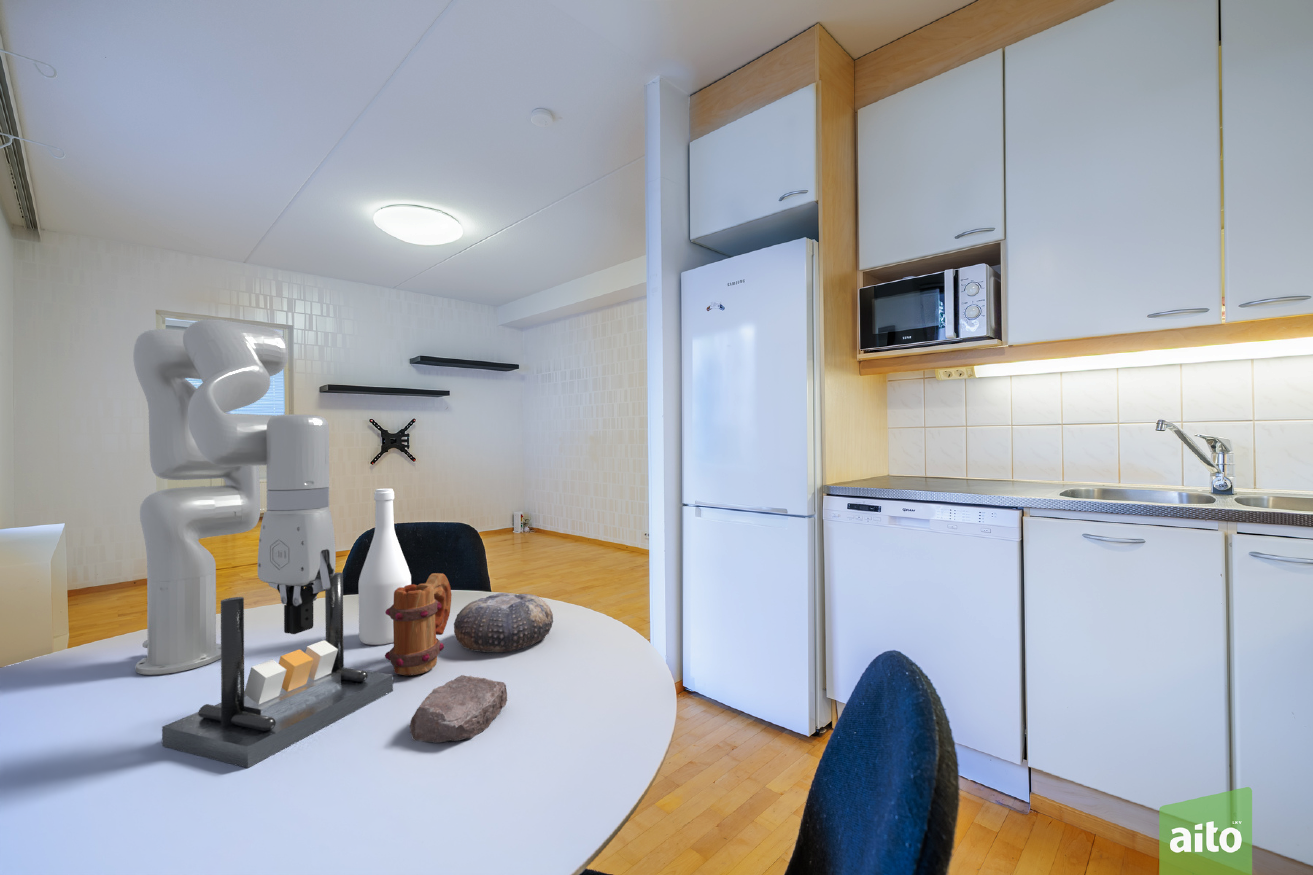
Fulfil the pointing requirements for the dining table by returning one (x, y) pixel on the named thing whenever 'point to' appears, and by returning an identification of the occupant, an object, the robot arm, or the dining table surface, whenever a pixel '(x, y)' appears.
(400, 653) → the mug
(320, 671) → the white leaning block
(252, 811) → the dining table surface
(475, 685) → the stone
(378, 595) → the wine bottle
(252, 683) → the white tilted cube
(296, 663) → the block
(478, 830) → the dining table surface
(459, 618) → the sea urchin shell
